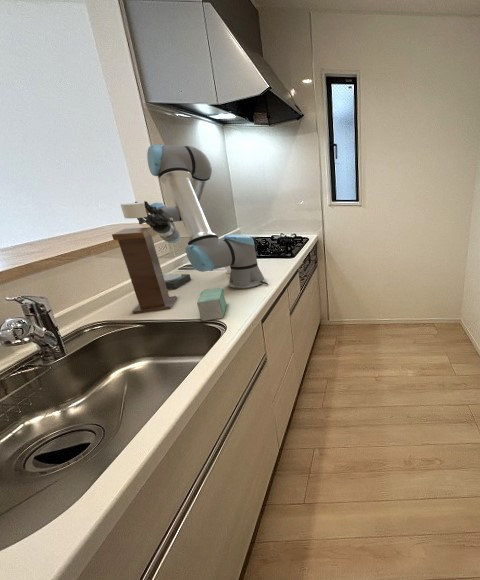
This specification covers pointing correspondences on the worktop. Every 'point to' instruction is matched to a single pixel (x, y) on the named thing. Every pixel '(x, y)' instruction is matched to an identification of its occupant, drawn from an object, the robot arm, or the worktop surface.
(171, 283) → the kitchen scale
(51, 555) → the worktop surface
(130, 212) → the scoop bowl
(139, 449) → the worktop surface
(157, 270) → the shelf stand
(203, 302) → the box
